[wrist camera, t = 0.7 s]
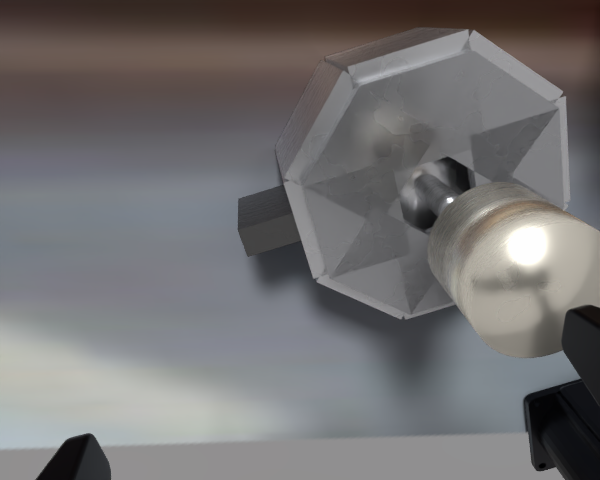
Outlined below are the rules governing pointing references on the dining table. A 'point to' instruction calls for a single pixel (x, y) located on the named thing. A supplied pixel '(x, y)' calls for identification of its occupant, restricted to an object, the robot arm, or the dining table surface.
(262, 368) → the dining table surface
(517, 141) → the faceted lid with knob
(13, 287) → the dining table surface
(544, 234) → the plunger
